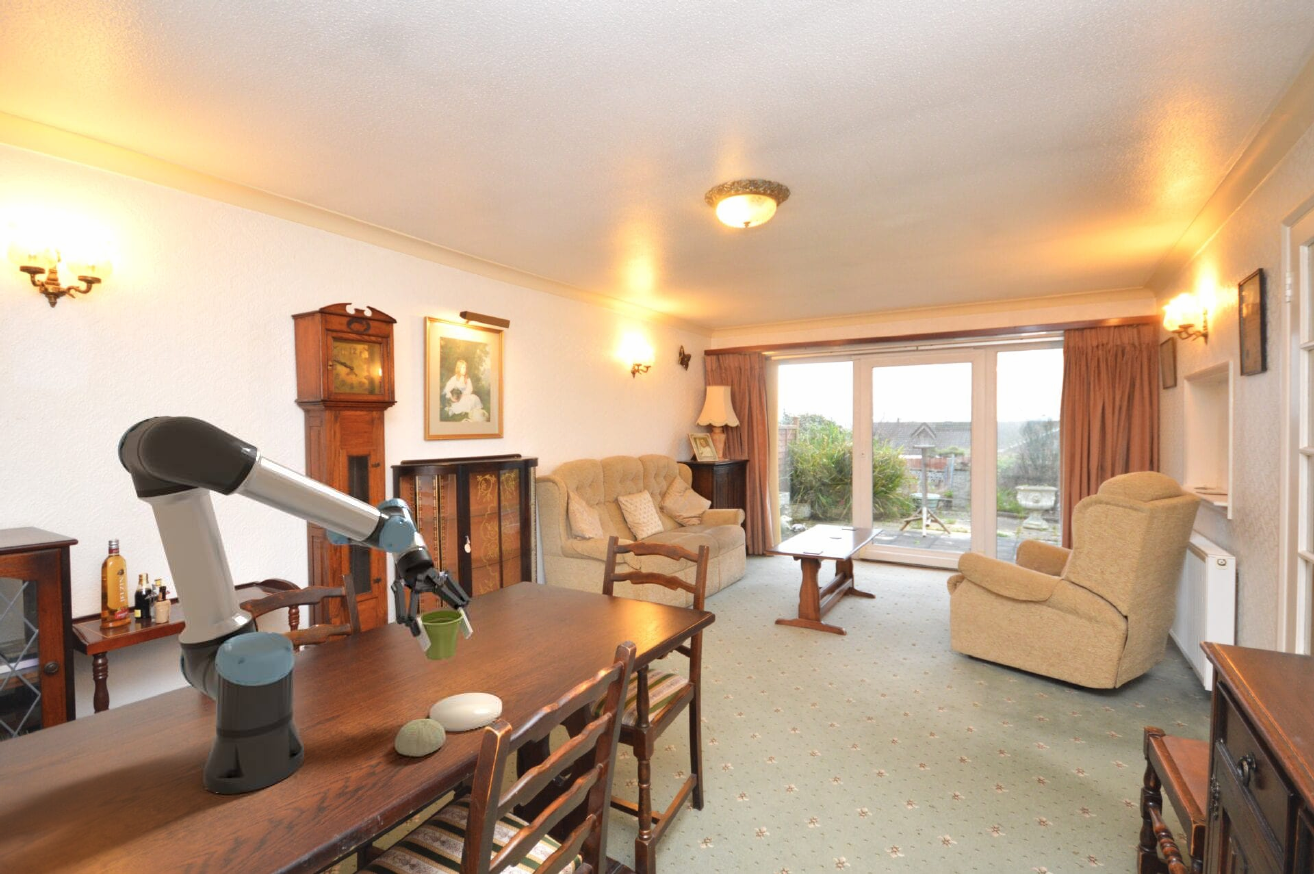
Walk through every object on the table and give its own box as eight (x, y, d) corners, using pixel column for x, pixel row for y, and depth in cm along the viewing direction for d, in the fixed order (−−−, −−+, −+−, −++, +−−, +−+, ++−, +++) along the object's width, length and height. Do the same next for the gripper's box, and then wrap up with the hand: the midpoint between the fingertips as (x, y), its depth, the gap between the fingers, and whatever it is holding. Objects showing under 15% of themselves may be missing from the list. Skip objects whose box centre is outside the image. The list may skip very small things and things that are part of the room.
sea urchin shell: (419, 756, 112) (399, 718, 115) (399, 777, 115) (381, 739, 118) (458, 735, 120) (439, 700, 122) (439, 755, 122) (421, 720, 125)
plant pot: (449, 665, 129) (450, 625, 128) (408, 662, 130) (409, 621, 130) (470, 649, 138) (470, 611, 138) (432, 646, 139) (432, 608, 139)
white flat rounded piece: (452, 739, 122) (452, 731, 122) (416, 715, 132) (416, 708, 132) (515, 713, 133) (515, 706, 133) (478, 693, 143) (478, 687, 143)
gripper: (448, 559, 152) (485, 637, 142) (358, 575, 135) (393, 665, 125) (460, 540, 148) (499, 619, 139) (370, 555, 131) (406, 646, 122)
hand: (448, 641), depth 132 cm, fingers closed on plant pot, 9 cm apart
